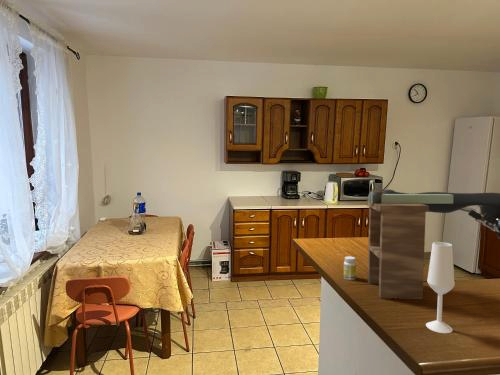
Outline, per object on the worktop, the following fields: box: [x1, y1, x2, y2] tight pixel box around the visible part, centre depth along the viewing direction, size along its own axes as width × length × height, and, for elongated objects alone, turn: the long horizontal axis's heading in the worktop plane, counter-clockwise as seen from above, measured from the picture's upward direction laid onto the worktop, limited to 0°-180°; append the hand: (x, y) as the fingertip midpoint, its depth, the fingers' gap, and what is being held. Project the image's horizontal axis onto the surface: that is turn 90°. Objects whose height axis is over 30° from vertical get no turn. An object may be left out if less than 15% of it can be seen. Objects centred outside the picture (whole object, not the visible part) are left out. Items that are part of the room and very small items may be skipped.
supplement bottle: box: [343, 255, 357, 281], centre depth 137 cm, size 5×5×8 cm
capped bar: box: [368, 190, 453, 204], centre depth 122 cm, size 4×28×4 cm, turn 86°
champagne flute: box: [425, 241, 456, 334], centre depth 96 cm, size 7×7×24 cm
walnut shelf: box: [366, 199, 430, 300], centre depth 124 cm, size 16×16×32 cm
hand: (476, 213), depth 121 cm, fingers open, 8 cm apart
